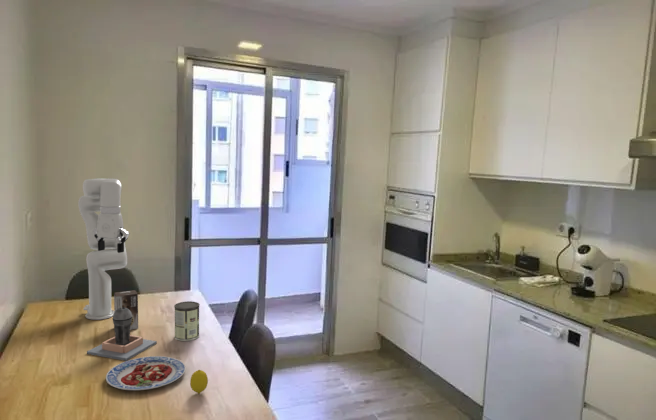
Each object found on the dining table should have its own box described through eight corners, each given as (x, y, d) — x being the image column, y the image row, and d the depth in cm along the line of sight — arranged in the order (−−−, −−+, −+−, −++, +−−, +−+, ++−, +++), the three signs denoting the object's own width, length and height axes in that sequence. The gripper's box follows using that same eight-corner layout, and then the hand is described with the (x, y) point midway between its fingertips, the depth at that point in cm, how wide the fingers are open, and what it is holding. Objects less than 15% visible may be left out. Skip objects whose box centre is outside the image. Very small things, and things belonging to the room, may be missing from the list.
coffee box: (135, 324, 212) (135, 289, 210) (138, 328, 206) (138, 293, 204) (114, 327, 207) (113, 292, 205) (116, 332, 201) (115, 295, 200)
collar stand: (86, 353, 178) (86, 345, 178) (119, 337, 195) (119, 329, 195) (126, 360, 173) (126, 351, 173) (156, 343, 191) (156, 335, 190)
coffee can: (184, 330, 206) (184, 300, 204) (203, 334, 202) (204, 303, 201) (168, 338, 196) (169, 306, 195) (189, 342, 193) (189, 309, 191)
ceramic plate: (127, 360, 175) (127, 352, 175) (195, 363, 174) (195, 355, 174) (90, 393, 149) (90, 384, 149) (169, 397, 148) (169, 389, 148)
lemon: (192, 389, 154) (192, 366, 153) (209, 389, 155) (209, 366, 154) (188, 397, 149) (188, 373, 148) (206, 397, 149) (206, 373, 148)
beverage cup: (136, 343, 188) (135, 295, 186) (126, 350, 180) (125, 300, 178) (119, 341, 188) (118, 293, 186) (108, 348, 181) (108, 298, 179)
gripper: (86, 210, 191) (87, 251, 193) (121, 212, 186) (122, 254, 188) (100, 208, 198) (100, 248, 200) (134, 211, 194) (134, 251, 195)
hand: (111, 251), depth 194 cm, fingers open, 9 cm apart
